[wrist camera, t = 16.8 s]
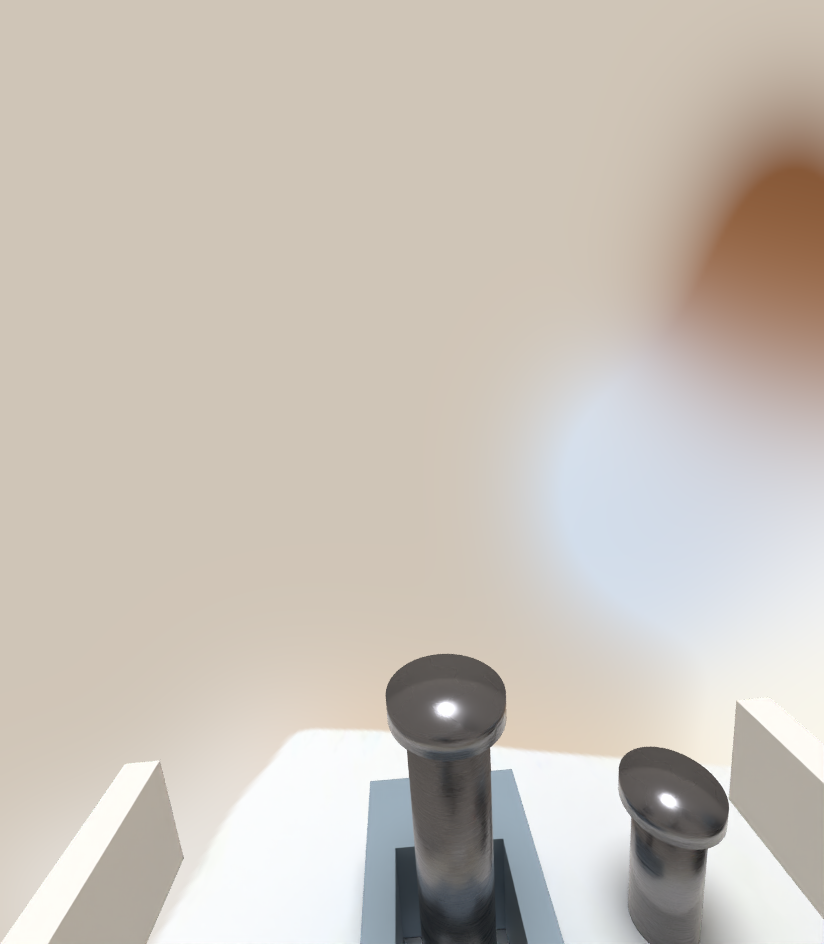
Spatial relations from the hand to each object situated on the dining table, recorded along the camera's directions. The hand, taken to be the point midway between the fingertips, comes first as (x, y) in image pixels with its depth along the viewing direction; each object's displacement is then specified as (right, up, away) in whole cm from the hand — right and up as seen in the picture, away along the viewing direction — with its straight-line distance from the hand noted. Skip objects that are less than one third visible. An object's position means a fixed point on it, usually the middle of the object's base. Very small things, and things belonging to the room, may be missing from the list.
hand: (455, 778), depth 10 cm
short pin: (+15, -21, +18) cm, 32 cm away
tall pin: (+2, -23, +15) cm, 27 cm away
